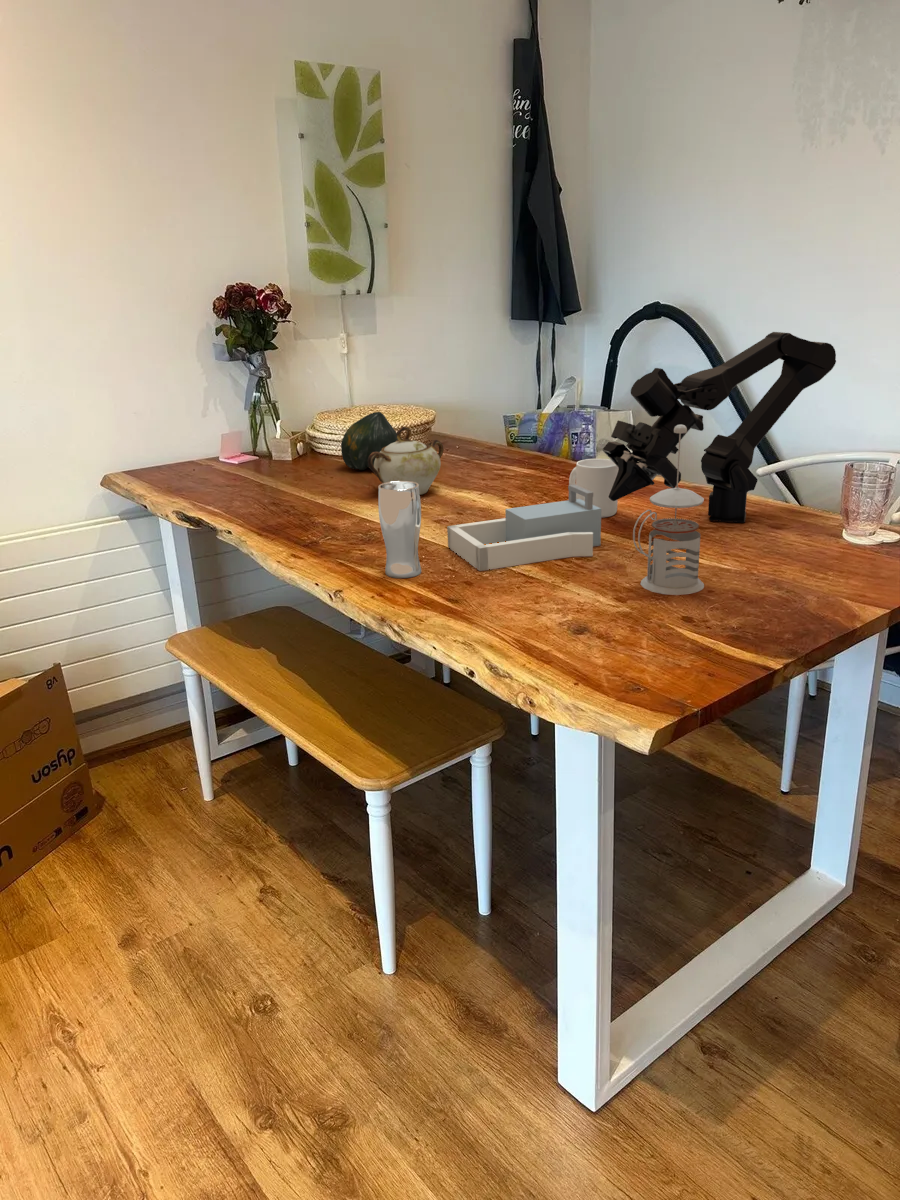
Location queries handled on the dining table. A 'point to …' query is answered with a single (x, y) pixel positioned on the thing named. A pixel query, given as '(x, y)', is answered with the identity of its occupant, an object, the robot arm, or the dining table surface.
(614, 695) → the dining table surface
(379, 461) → the sugar bowl
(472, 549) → the bay
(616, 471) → the mug
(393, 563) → the beer glass
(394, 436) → the squash
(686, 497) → the french press
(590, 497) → the box with loop handle
